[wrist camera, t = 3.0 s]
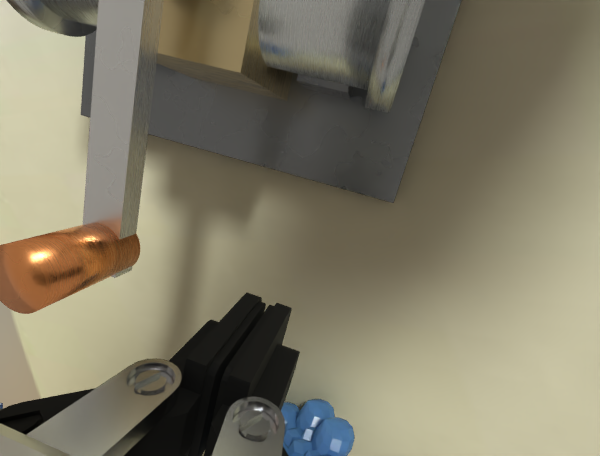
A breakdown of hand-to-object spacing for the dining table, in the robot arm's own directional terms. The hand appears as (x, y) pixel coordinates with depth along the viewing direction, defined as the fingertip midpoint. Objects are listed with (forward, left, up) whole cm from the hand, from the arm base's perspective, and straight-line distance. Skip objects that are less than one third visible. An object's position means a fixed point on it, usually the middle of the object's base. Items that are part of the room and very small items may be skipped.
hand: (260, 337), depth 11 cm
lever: (-6, -8, -3) cm, 11 cm away
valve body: (-12, -8, -13) cm, 20 cm away
